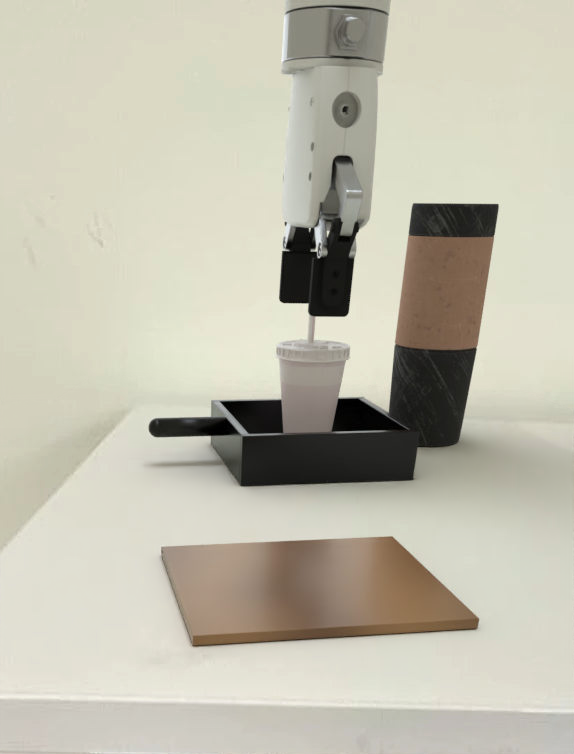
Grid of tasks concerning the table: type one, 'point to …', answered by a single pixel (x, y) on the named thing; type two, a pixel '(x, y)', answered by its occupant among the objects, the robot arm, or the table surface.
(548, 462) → the table surface
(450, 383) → the travel mug
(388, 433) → the pan
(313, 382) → the smoothie
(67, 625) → the table surface
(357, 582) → the brown mat
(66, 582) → the table surface
